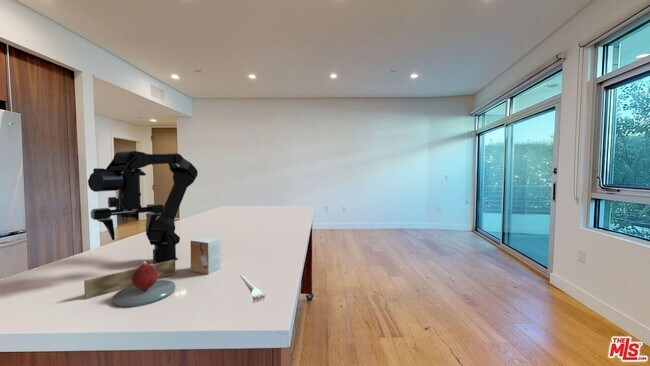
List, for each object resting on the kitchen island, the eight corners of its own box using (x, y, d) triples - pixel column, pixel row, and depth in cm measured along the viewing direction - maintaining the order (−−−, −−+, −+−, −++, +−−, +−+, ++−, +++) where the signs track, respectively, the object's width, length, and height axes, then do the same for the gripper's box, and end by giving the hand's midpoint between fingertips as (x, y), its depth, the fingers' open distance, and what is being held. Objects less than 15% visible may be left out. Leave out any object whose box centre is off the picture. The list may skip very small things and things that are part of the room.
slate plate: (164, 279, 82) (164, 276, 82) (183, 292, 73) (183, 289, 73) (107, 295, 71) (106, 292, 71) (120, 313, 62) (120, 309, 62)
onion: (163, 287, 74) (162, 259, 73) (143, 296, 68) (142, 266, 68) (148, 284, 75) (147, 257, 75) (127, 293, 70) (126, 263, 70)
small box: (190, 271, 88) (189, 240, 88) (203, 266, 94) (203, 236, 93) (208, 274, 85) (207, 242, 85) (221, 269, 91) (220, 238, 90)
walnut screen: (173, 272, 87) (173, 259, 87) (176, 274, 86) (175, 260, 86) (84, 296, 71) (83, 279, 70) (85, 299, 69) (85, 282, 69)
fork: (246, 276, 86) (246, 271, 86) (269, 300, 69) (269, 293, 69) (236, 278, 84) (236, 273, 84) (256, 303, 67) (256, 295, 67)
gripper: (153, 187, 98) (154, 229, 99) (86, 190, 84) (88, 238, 84) (164, 188, 91) (165, 233, 92) (93, 191, 77) (95, 244, 77)
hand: (130, 237), depth 86 cm, fingers open, 9 cm apart
